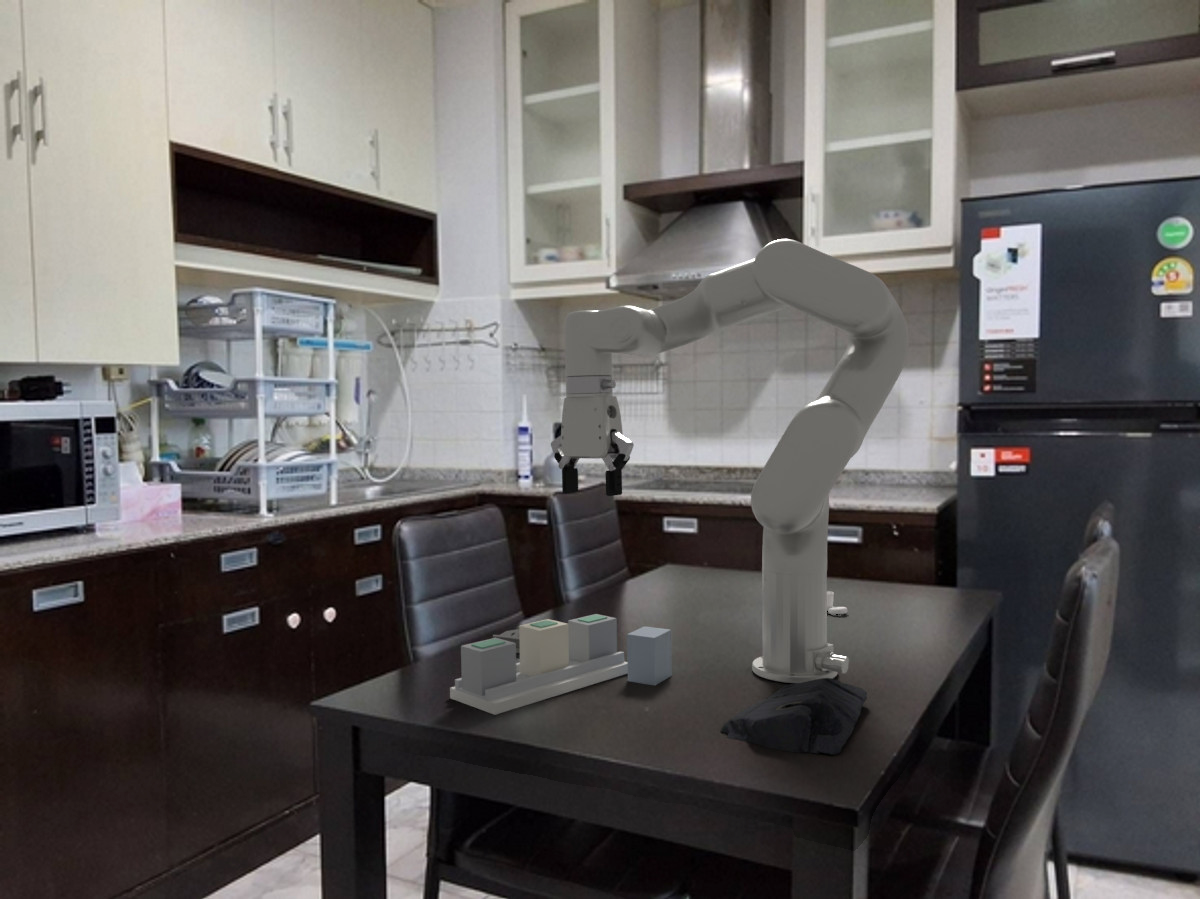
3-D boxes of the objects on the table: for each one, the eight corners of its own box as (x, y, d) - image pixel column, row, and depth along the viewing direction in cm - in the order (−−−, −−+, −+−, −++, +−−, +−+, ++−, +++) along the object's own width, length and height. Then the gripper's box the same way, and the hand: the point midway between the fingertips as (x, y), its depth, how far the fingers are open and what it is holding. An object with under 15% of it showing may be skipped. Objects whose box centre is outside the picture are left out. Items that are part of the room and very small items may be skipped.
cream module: (569, 671, 133) (568, 622, 133) (540, 679, 129) (539, 629, 129) (548, 665, 136) (547, 617, 136) (520, 673, 132) (519, 624, 132)
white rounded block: (852, 618, 174) (852, 597, 173) (810, 618, 174) (810, 597, 174) (841, 608, 182) (841, 588, 182) (801, 608, 183) (801, 588, 182)
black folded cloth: (886, 709, 122) (886, 674, 122) (834, 765, 103) (834, 723, 103) (777, 691, 130) (777, 658, 130) (711, 740, 111) (711, 701, 111)
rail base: (630, 672, 138) (630, 653, 138) (494, 714, 120) (494, 693, 120) (584, 660, 146) (584, 642, 145) (450, 698, 127) (449, 677, 127)
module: (671, 675, 137) (671, 629, 137) (655, 685, 132) (654, 637, 132) (645, 671, 139) (644, 626, 139) (627, 681, 134) (627, 634, 134)
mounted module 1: (516, 686, 126) (515, 641, 126) (481, 696, 122) (481, 650, 122) (496, 679, 129) (495, 636, 129) (461, 689, 125) (460, 644, 125)
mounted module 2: (617, 656, 140) (616, 617, 140) (589, 665, 136) (588, 623, 136) (596, 651, 144) (596, 612, 143) (568, 659, 139) (568, 619, 139)
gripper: (645, 386, 144) (647, 494, 145) (567, 390, 156) (570, 490, 157) (613, 386, 139) (616, 498, 139) (535, 390, 150) (538, 493, 151)
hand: (591, 494), depth 148 cm, fingers open, 9 cm apart
